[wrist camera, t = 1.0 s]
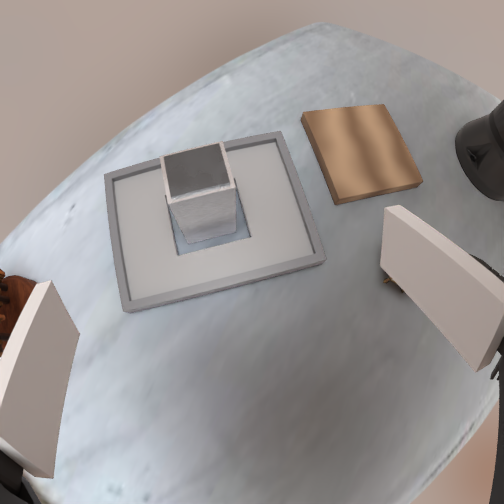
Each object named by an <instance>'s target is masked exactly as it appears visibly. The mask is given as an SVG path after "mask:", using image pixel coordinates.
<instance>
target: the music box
mask: <svg viewBox="0 0 504 504" xmlns="http://www.w3.org/2000/svg"><path fill="white" fill-rule="evenodd" d="M4 277H5V272H3V271H2V270H1V269H0V357H1V356H2V354H3V352H4V349H5V347H6V345H7V342H8V340H9V338H10V336H11V333H12V331H13V329H14V327H15V325H16V323H17V321H18V319H19V317H20V315H21V313H22V311H23V309H24V307H25V305H26V303H27V301H28V299H29V297H30V295H31V293H32V291H33V289H34V287H35V286H36V284H38V283H37V282H35V281H32V280H29V279H26V278H23V277H20V276H16V275H13V276H8V277H6V278H4ZM3 278H4V279H3Z"/></svg>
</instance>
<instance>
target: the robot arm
mask: <svg viewBox="0 0 504 504" xmlns="http://www.w3.org/2000/svg"><path fill="white" fill-rule="evenodd" d="M456 151H457V155H458V158H459V161H460V163H461V165H462V167H463V169H464V171H465V173H466V174H467V176H468V177H469V179H470V180H471V182H472V183H473V184H474V185H475V186H476V187H477V188H478V189H479V190H480V191H481V192H482V193H483V194H485V195H486V196H488V197H489V198H492V199H494V200H504V100H503V101H502V102H501V103H500V104H499V105H498V106H497V107H496V108H495V109H494V110H493V111H492V112H491V113H490V114H489V115H486V116H484V117H481V118H478V119H476V120H473V121H471V122H468V123H467V124H466V125H464V126H463V128H462V129H461V130H460V131H459V132H458V134H457V136H456ZM380 266H381V267H382V269H383V270H384V271H385V272H386V273H387V274H388V275H389V276H390V277H391V278H392V279H393V280H394V281H395V282H396V283H397V284H398V285H399V286H400V287H401V288H402V289H403V291H404V292H405V293H406V294H407V295H408V296H409V297H410V298H411V299H412V300H413V301H414V302H415V303H416V305H417V306H418V307H419V308H420V309H421V310H422V311H423V312H424V313H425V314H426V316H427V317H428V318H429V319H430V320H431V321H432V322H433V323H434V325H435V326H436V327H437V328H438V329H439V330H440V331H441V333H442V334H443V335H444V336H445V337H446V338H447V339H448V341H449V342H450V343H451V344H452V345H453V346H454V348H455V349H456V350H457V351H458V352H459V354H460V355H461V356H462V357H463V358H464V360H465V361H466V362H467V363H468V364H469V366H470V367H471V368H472V369H473V371H474V372H475V373H476V372H478V371H479V370H481V369H482V368H484V367H485V366H487V365H489V364H490V363H491V361H492V359H493V357H494V355H495V353H496V352H497V351H498V352H499V353H500V354H501V355H502V356H501V358H500V360H499V361H498V363H497V365H496V367H495V369H494V370H493V372H492V374H491V378H490V379H494V377H495V375H496V374H497V372H498V371H499V376H498V378H497V380H499V429H498V444H497V455H496V464H495V471H494V479H493V485H492V491H491V496H490V502H489V504H504V277H503V276H500V275H499V273H498V272H497V271H495V270H494V269H493V270H492V267H490V266H489V265H488V264H487V263H485V262H484V261H483V260H481V259H479V258H477V257H475V256H473V255H470V254H468V253H466V252H465V251H464V250H462V249H461V248H460V247H459V246H457V245H456V244H455V243H453V242H452V241H451V240H449V239H448V238H446V237H445V236H444V235H442V234H441V233H440V232H438V231H437V230H435V229H434V228H433V227H431V226H430V225H428V224H427V223H426V222H424V221H423V220H421V219H420V218H418V217H417V216H415V215H414V214H413V213H411V212H410V211H408V210H407V209H405V208H404V207H402V206H401V205H396V206H390V207H385V208H384V224H383V237H382V249H381V260H380ZM79 336H80V333H79V331H78V330H77V328H76V326H75V324H74V323H73V321H72V319H71V317H70V315H69V313H68V312H67V310H66V308H65V306H64V304H63V302H62V300H61V298H60V296H59V294H58V292H57V290H56V288H55V286H54V284H53V282H52V280H51V281H46V282H42V283H38V284H36V286H35V287H34V289H33V291H32V293H31V295H30V297H29V299H28V301H27V303H26V305H25V307H24V309H23V311H22V313H21V315H20V317H19V319H18V321H17V323H16V325H15V327H14V329H13V331H12V333H11V336H10V338H9V340H8V342H7V345H6V347H5V349H4V352H3V354H2V356H1V359H0V504H41V502H40V501H39V499H38V498H37V496H36V494H35V492H34V491H33V489H32V487H31V485H30V484H29V482H28V481H27V480H26V478H24V477H23V476H22V474H23V469H25V470H26V471H27V472H29V473H30V474H31V475H33V476H34V477H40V478H52V479H53V478H54V468H55V459H56V451H57V443H58V436H59V430H60V423H61V417H62V412H63V406H64V401H65V396H66V391H67V386H68V381H69V377H70V372H71V368H72V363H73V359H74V355H75V351H76V347H77V343H78V339H79Z"/></svg>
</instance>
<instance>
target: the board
mask: <svg viewBox="0 0 504 504" xmlns="http://www.w3.org/2000/svg"><path fill="white" fill-rule="evenodd" d="M301 122H302V124H303V127H304V129H305V131H306V134H307V136H308V138H309V141H310V143H311V145H312V148H313V150H314V153H315V155H316V158H317V160H318V162H319V165H320V167H321V170H322V172H323V175H324V178H325V180H326V183H327V185H328V188H329V190H330V193H331V196H332V198H333V201H334V204H335V205H337V204H342V203H346V202H351V201H355V200H360V199H364V198H369V197H373V196H378V195H382V194H387V193H392V192H396V191H401V190H406V189H411V188H415V187H418V186H419V185H420V184H421V183H422V182H423V180H422V177H421V175H420V173H419V171H418V169H417V167H416V164H415V162H414V160H413V158H412V156H411V154H410V152H409V150H408V148H407V146H406V144H405V142H404V140H403V138H402V136H401V134H400V132H399V131H398V129H397V127H396V125H395V123H394V121H393V119H392V118H391V116H390V114H389V112H388V110H387V109H386V107H385V105H384V104H381V105H366V106H354V107H343V108H334V109H325V110H316V111H308V112H303V114H302V118H301Z"/></svg>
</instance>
